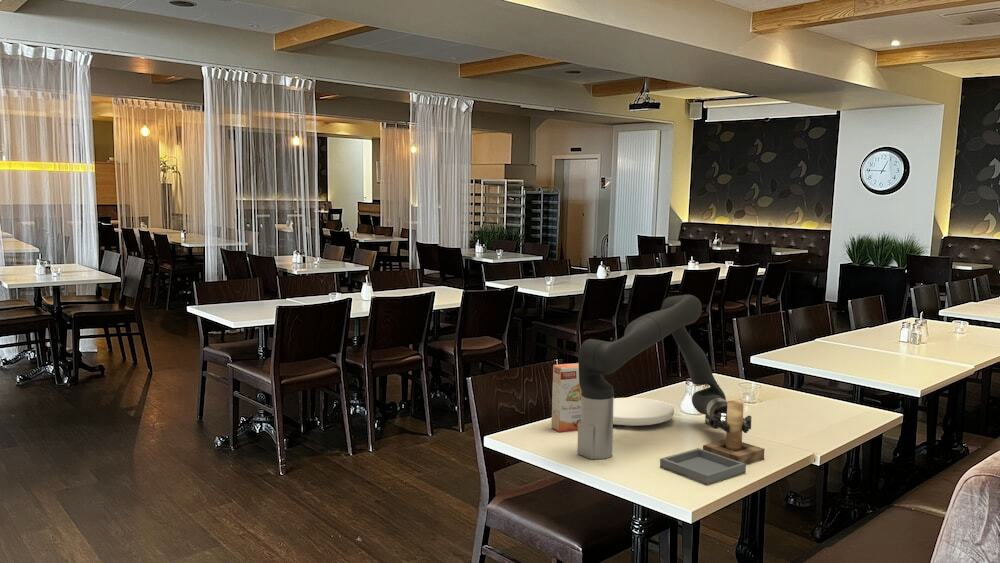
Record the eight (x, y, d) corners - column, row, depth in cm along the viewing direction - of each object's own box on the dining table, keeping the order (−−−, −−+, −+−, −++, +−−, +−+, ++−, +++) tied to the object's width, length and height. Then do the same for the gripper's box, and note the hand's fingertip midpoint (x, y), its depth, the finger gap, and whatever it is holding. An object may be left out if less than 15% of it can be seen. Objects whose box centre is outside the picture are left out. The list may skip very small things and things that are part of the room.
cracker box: (559, 433, 235) (560, 367, 233) (550, 427, 240) (551, 364, 238) (598, 428, 240) (599, 364, 238) (588, 423, 246) (589, 361, 244)
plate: (590, 415, 239) (588, 395, 265) (591, 434, 239) (590, 413, 266) (678, 409, 236) (668, 389, 262) (680, 429, 236) (669, 407, 263)
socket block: (737, 467, 205) (738, 456, 205) (702, 455, 215) (703, 445, 214) (764, 459, 212) (764, 448, 212) (728, 447, 222) (729, 438, 221)
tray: (707, 485, 191) (707, 475, 191) (659, 467, 204) (660, 458, 204) (745, 472, 200) (745, 463, 200) (698, 456, 213) (698, 448, 213)
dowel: (734, 460, 210) (737, 405, 209) (722, 456, 214) (724, 402, 212) (744, 457, 213) (746, 403, 211) (731, 453, 216) (733, 399, 215)
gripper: (698, 400, 226) (712, 415, 209) (745, 401, 226) (763, 416, 209) (697, 424, 227) (711, 441, 210) (744, 425, 227) (762, 442, 210)
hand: (737, 429), depth 210 cm, fingers closed on dowel, 4 cm apart
